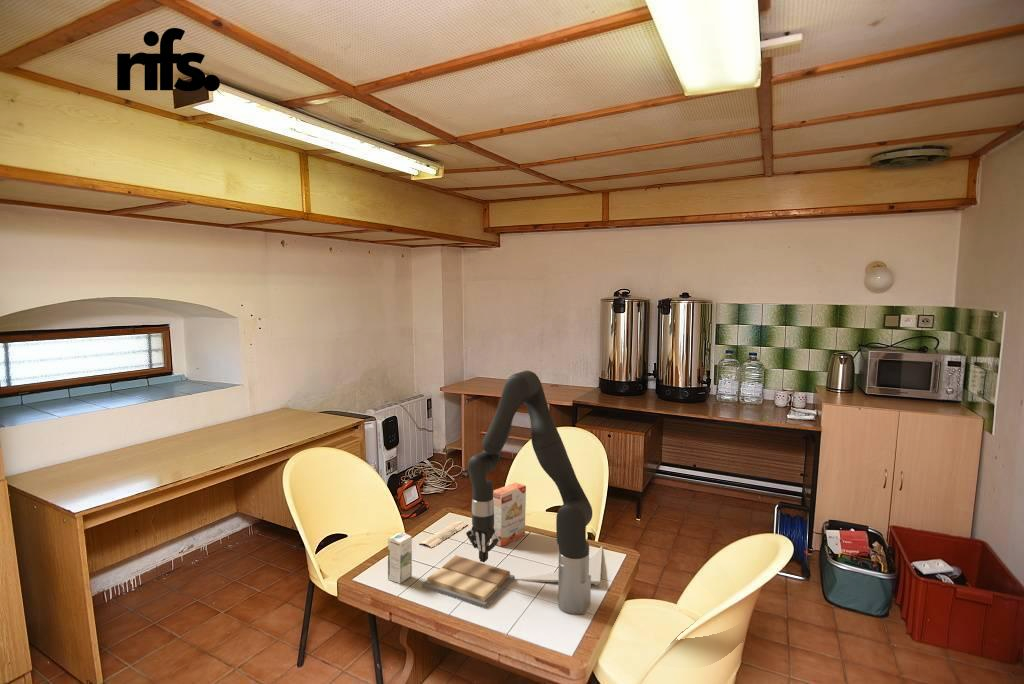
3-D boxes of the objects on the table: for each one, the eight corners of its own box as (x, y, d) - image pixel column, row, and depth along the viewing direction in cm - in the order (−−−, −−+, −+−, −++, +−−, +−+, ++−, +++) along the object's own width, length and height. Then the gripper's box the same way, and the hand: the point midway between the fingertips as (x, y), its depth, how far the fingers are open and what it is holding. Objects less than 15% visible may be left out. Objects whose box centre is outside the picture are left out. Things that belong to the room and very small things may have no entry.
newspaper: (456, 523, 218) (456, 519, 218) (470, 527, 214) (470, 523, 214) (419, 546, 198) (419, 541, 198) (433, 551, 194) (433, 546, 194)
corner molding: (510, 583, 173) (600, 586, 167) (510, 578, 173) (600, 581, 167) (525, 549, 203) (602, 550, 197) (525, 545, 203) (602, 546, 197)
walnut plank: (509, 575, 172) (509, 571, 172) (497, 588, 166) (497, 583, 165) (456, 559, 183) (455, 555, 183) (442, 570, 176) (442, 566, 176)
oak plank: (497, 589, 165) (497, 584, 165) (484, 601, 158) (484, 596, 158) (441, 571, 176) (441, 567, 176) (427, 582, 169) (427, 577, 169)
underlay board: (514, 579, 173) (514, 575, 173) (484, 608, 157) (484, 604, 157) (456, 561, 185) (456, 558, 185) (422, 586, 168) (422, 583, 168)
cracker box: (501, 548, 195) (501, 494, 194) (490, 542, 199) (490, 490, 198) (526, 536, 205) (526, 485, 204) (515, 531, 210) (515, 481, 208)
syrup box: (399, 572, 178) (399, 531, 176) (412, 576, 174) (412, 535, 173) (387, 579, 173) (387, 538, 171) (400, 584, 170) (400, 542, 168)
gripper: (505, 511, 173) (505, 560, 174) (472, 503, 179) (473, 551, 181) (494, 519, 166) (494, 570, 168) (460, 511, 173) (461, 561, 174)
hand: (483, 560), depth 174 cm, fingers closed
